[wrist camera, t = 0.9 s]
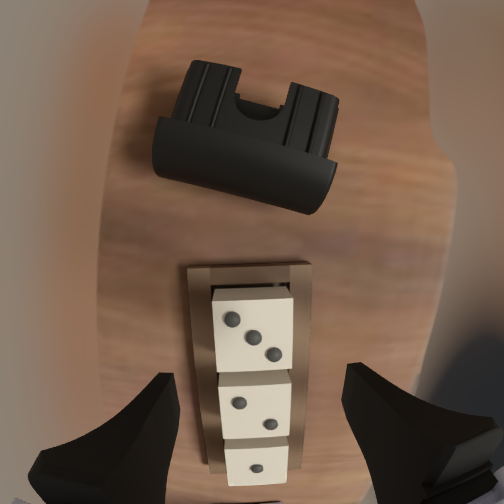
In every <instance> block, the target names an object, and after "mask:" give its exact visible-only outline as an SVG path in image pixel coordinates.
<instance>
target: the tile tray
mask: <svg viewBox="0 0 504 504" xmlns="http://www.w3.org/2000/svg"><path fill="white" fill-rule="evenodd" d="M187 278H188V293H189V306H190V318H191V329H192V340H193V350H194V360H195V369H196V378H197V386H198V394H199V402H200V410H201V417H202V424H203V431H204V438H205V445H206V451H207V457H208V463H209V469H210V473H227V468H226V459H225V450H224V445H225V439H223V432H222V422H221V412H220V401H219V390H218V384H219V372H217V366H216V353H215V339H214V325H213V309H212V299H213V295H214V291H215V289H229V288H258V287H282V286H286V287H287V289H288V291H289V292H290V294H291V295H292V297H293V349H292V369H287V371H288V374H289V377H290V380H291V409H290V430H289V435H288V436H286V437H287V441H288V445H289V448H288V464H287V470H292V469H301V462H302V452H303V442H304V430H305V418H306V405H307V391H308V375H309V356H310V333H311V301H312V264H311V263H309V262H285V263H257V264H226V265H193V266H189V267H188V268H187Z"/></svg>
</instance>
